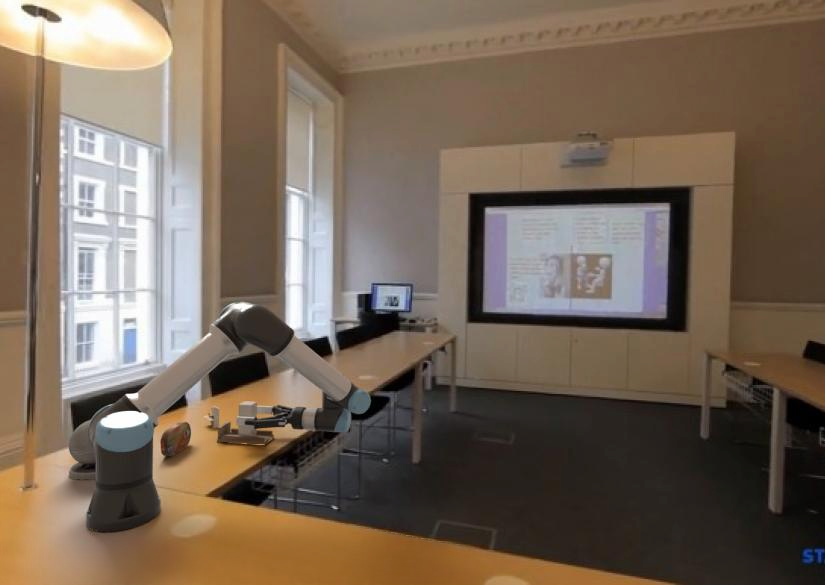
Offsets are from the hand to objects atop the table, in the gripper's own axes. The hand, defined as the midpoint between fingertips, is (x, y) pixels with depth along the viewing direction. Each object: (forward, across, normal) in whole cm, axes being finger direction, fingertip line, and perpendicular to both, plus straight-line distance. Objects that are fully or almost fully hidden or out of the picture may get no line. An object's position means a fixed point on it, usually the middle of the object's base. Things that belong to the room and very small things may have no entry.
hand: (246, 414), depth 167 cm
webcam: (+30, -32, -9) cm, 45 cm away
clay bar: (-1, 0, -8) cm, 8 cm away
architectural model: (+18, +12, -10) cm, 24 cm away
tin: (+17, -14, -9) cm, 24 cm away
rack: (0, 0, -9) cm, 9 cm away
